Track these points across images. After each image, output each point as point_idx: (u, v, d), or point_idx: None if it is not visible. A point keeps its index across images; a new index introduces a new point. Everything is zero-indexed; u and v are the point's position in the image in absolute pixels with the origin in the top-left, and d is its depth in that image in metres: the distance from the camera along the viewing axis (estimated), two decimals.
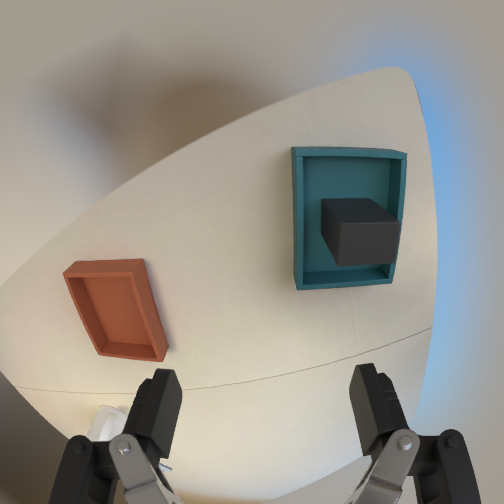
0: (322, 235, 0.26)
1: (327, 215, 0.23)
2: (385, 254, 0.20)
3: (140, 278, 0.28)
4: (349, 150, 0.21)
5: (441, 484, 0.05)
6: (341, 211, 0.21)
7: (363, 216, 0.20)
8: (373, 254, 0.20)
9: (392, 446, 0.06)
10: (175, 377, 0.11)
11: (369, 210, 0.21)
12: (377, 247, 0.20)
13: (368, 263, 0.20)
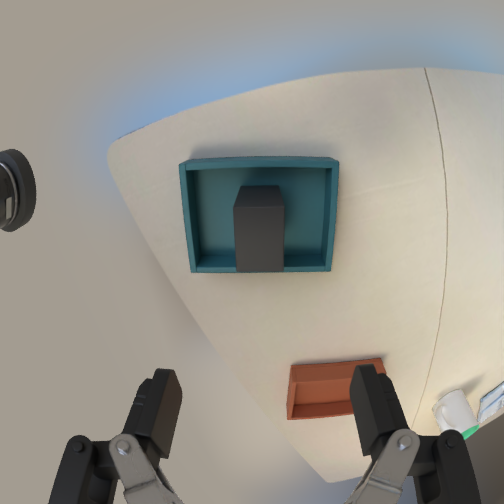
0: None
1: None
2: (271, 220, 0.19)
3: (303, 374, 0.34)
4: (185, 226, 0.24)
5: (441, 484, 0.05)
6: None
7: None
8: (271, 235, 0.19)
9: (392, 446, 0.06)
10: (175, 377, 0.11)
11: None
12: (263, 232, 0.19)
13: (282, 239, 0.20)
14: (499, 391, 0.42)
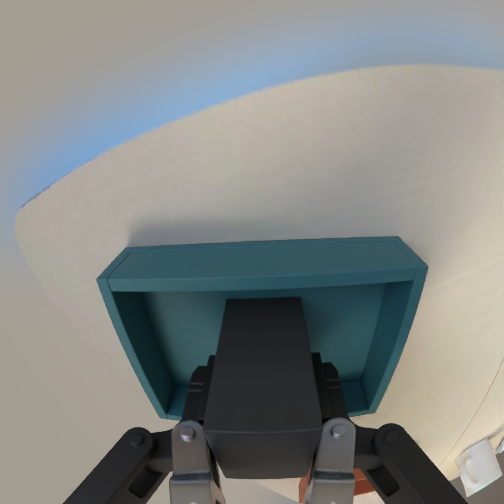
0: None
1: None
2: (291, 445, 0.07)
3: None
4: (136, 371, 0.12)
5: (396, 478, 0.06)
6: None
7: None
8: (288, 457, 0.07)
9: (326, 438, 0.07)
10: None
11: None
12: (272, 455, 0.07)
13: (310, 458, 0.08)
14: None
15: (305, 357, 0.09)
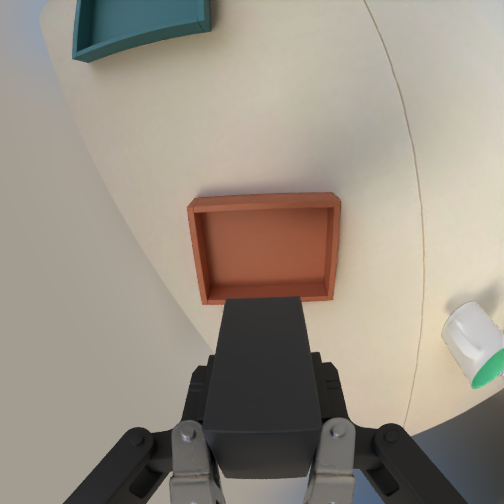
0: None
1: None
2: (290, 445, 0.07)
3: (206, 201, 0.24)
4: (75, 21, 0.15)
5: (396, 478, 0.06)
6: None
7: None
8: (288, 457, 0.07)
9: (326, 438, 0.07)
10: None
11: None
12: (271, 455, 0.07)
13: (309, 458, 0.08)
14: None
15: (305, 356, 0.09)
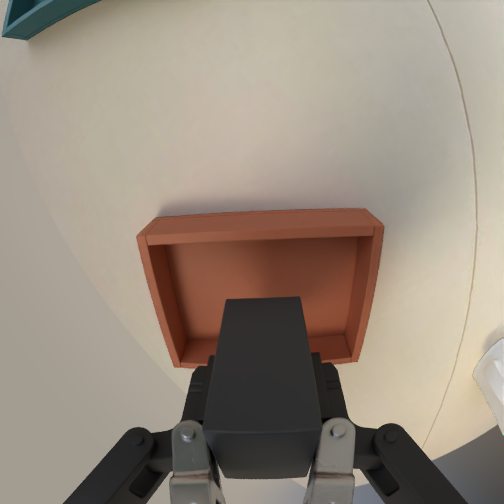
0: None
1: None
2: (291, 445, 0.07)
3: (167, 225, 0.15)
4: None
5: (396, 478, 0.06)
6: None
7: None
8: (288, 457, 0.07)
9: (326, 438, 0.07)
10: None
11: None
12: (271, 455, 0.07)
13: (309, 458, 0.08)
14: None
15: (305, 357, 0.09)
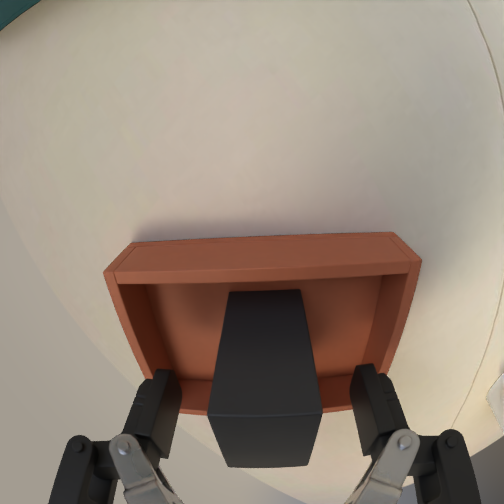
0: None
1: None
2: (293, 430, 0.08)
3: (143, 257, 0.12)
4: None
5: (441, 484, 0.05)
6: None
7: None
8: (290, 443, 0.08)
9: (392, 446, 0.06)
10: (175, 377, 0.11)
11: None
12: (274, 441, 0.08)
13: (311, 444, 0.08)
14: None
15: (305, 345, 0.10)
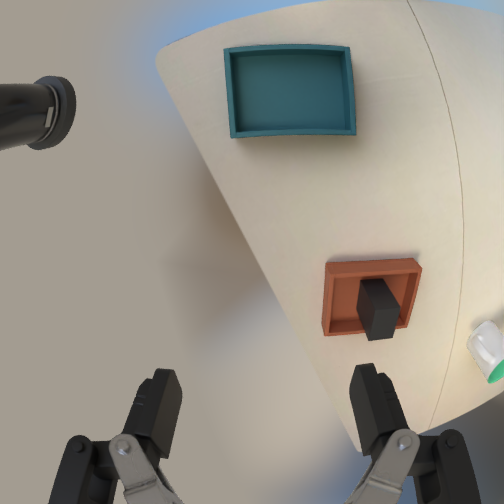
0: None
1: None
2: (393, 314, 0.30)
3: (339, 268, 0.34)
4: (227, 96, 0.25)
5: (441, 484, 0.05)
6: (364, 322, 0.34)
7: (368, 320, 0.32)
8: (391, 321, 0.30)
9: (392, 446, 0.06)
10: (175, 377, 0.11)
11: (366, 307, 0.33)
12: (387, 320, 0.30)
13: (396, 323, 0.30)
14: None
15: (391, 293, 0.32)
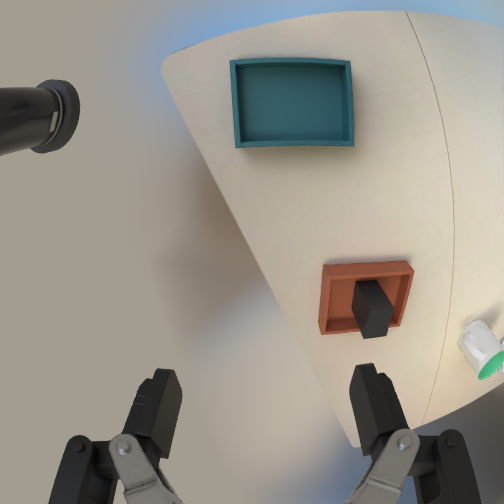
0: None
1: None
2: (386, 314, 0.32)
3: (336, 270, 0.36)
4: (233, 107, 0.27)
5: (441, 484, 0.05)
6: (359, 321, 0.36)
7: (363, 319, 0.34)
8: (384, 320, 0.33)
9: (392, 446, 0.06)
10: (175, 377, 0.11)
11: (361, 307, 0.35)
12: (381, 319, 0.33)
13: (389, 322, 0.33)
14: None
15: (384, 294, 0.34)
